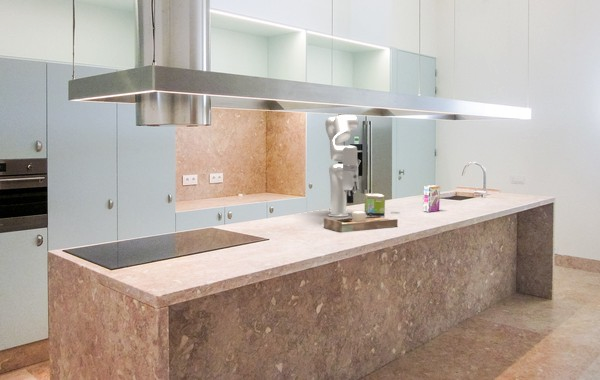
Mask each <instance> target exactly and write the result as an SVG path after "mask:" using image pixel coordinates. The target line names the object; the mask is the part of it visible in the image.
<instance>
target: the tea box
mask: <svg viewBox="0 0 600 380" xmlns="http://www.w3.org/2000/svg"><path fill="white" fill-rule="evenodd" d="M385 206H386V196H385V195H384V194H382V193H364V212H366V217H371V216H381V218H385V219H386V217H385V213H386V212H385V211H386V210H385V209H386V207H385Z"/></svg>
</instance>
